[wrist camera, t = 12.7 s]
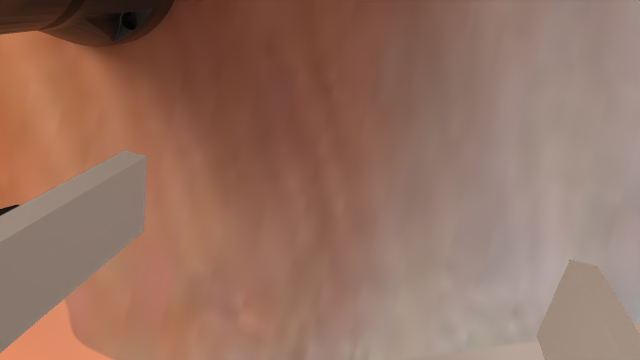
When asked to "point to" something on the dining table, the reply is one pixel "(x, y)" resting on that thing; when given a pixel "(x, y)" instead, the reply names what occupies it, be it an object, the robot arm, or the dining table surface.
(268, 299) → the dining table surface
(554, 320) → the robot arm
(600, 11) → the dining table surface
